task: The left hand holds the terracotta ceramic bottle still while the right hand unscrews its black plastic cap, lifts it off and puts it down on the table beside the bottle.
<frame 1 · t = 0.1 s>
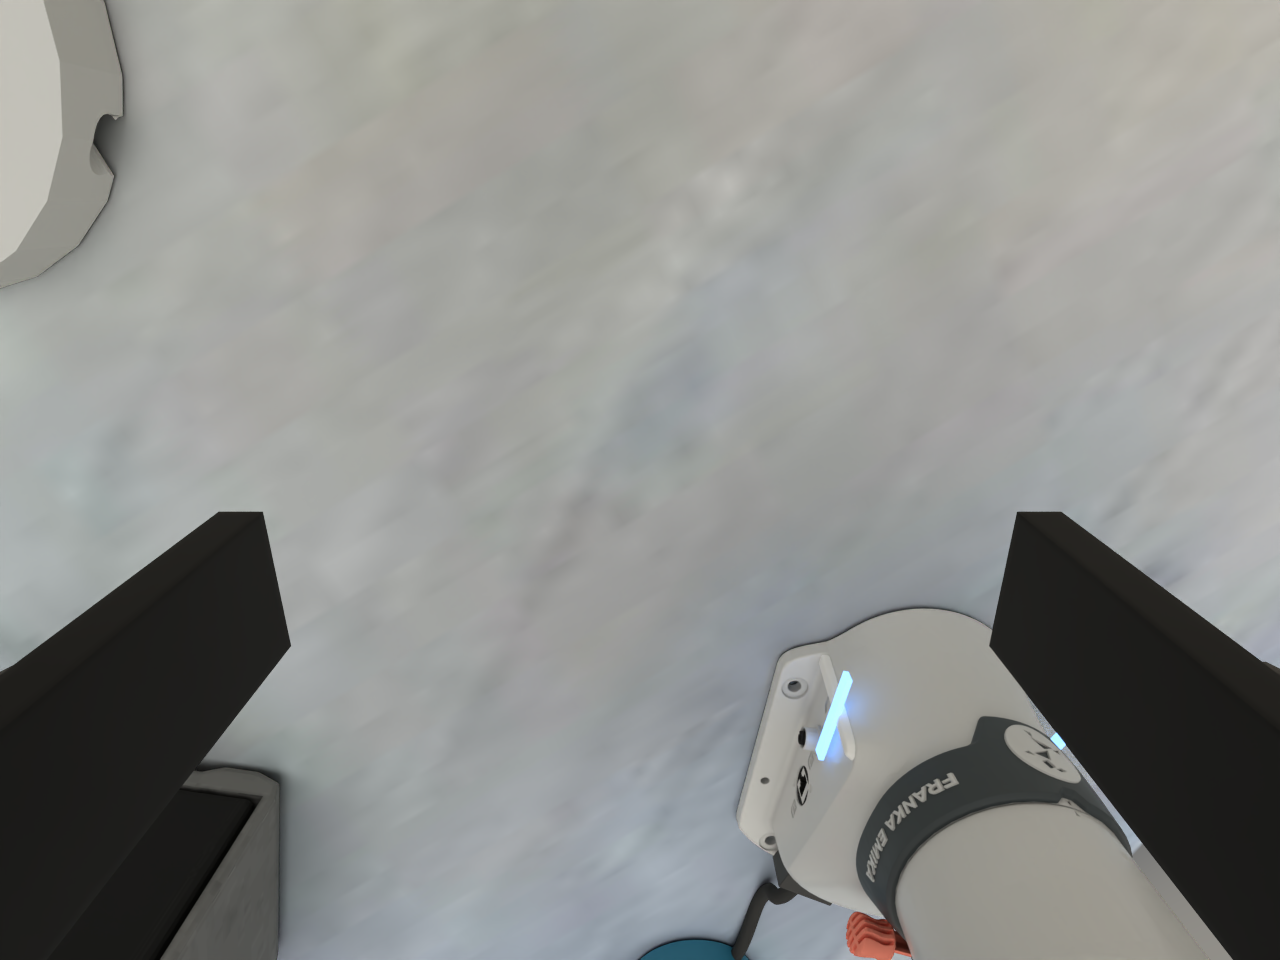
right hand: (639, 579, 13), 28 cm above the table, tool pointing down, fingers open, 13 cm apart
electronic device: (56, 846, 53), on the table
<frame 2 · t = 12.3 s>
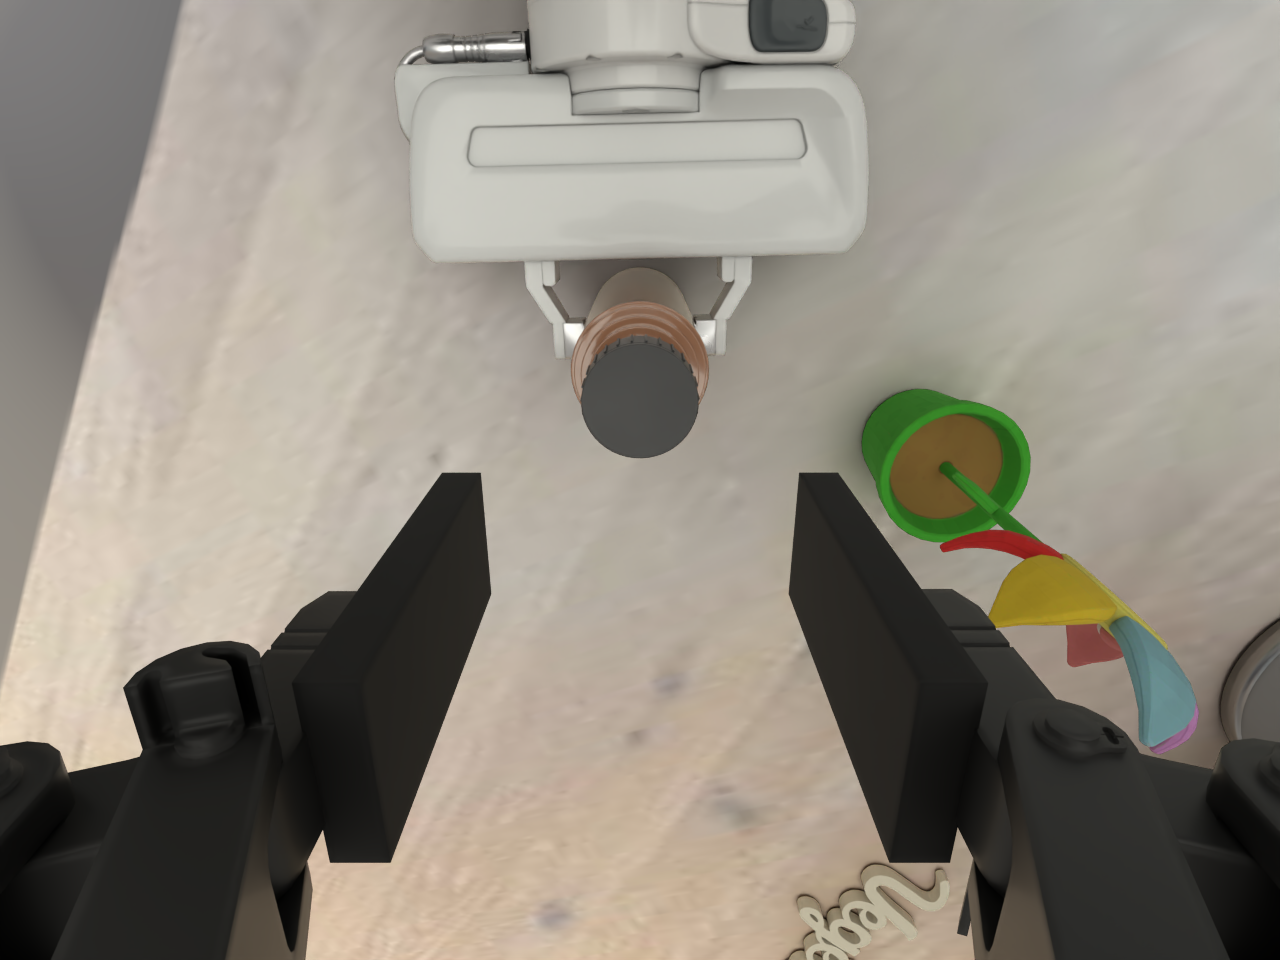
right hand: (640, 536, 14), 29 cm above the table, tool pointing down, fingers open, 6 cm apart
left hand: (641, 355, 35), fingers closed on bottle, 5 cm apart
decorative sign: (815, 955, 61), on the table
bottle: (639, 315, 41), on the table, touching left hand
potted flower: (913, 439, 44), on the table
cap: (639, 400, 24), point 19 cm above the table, screwed on, not yet turned
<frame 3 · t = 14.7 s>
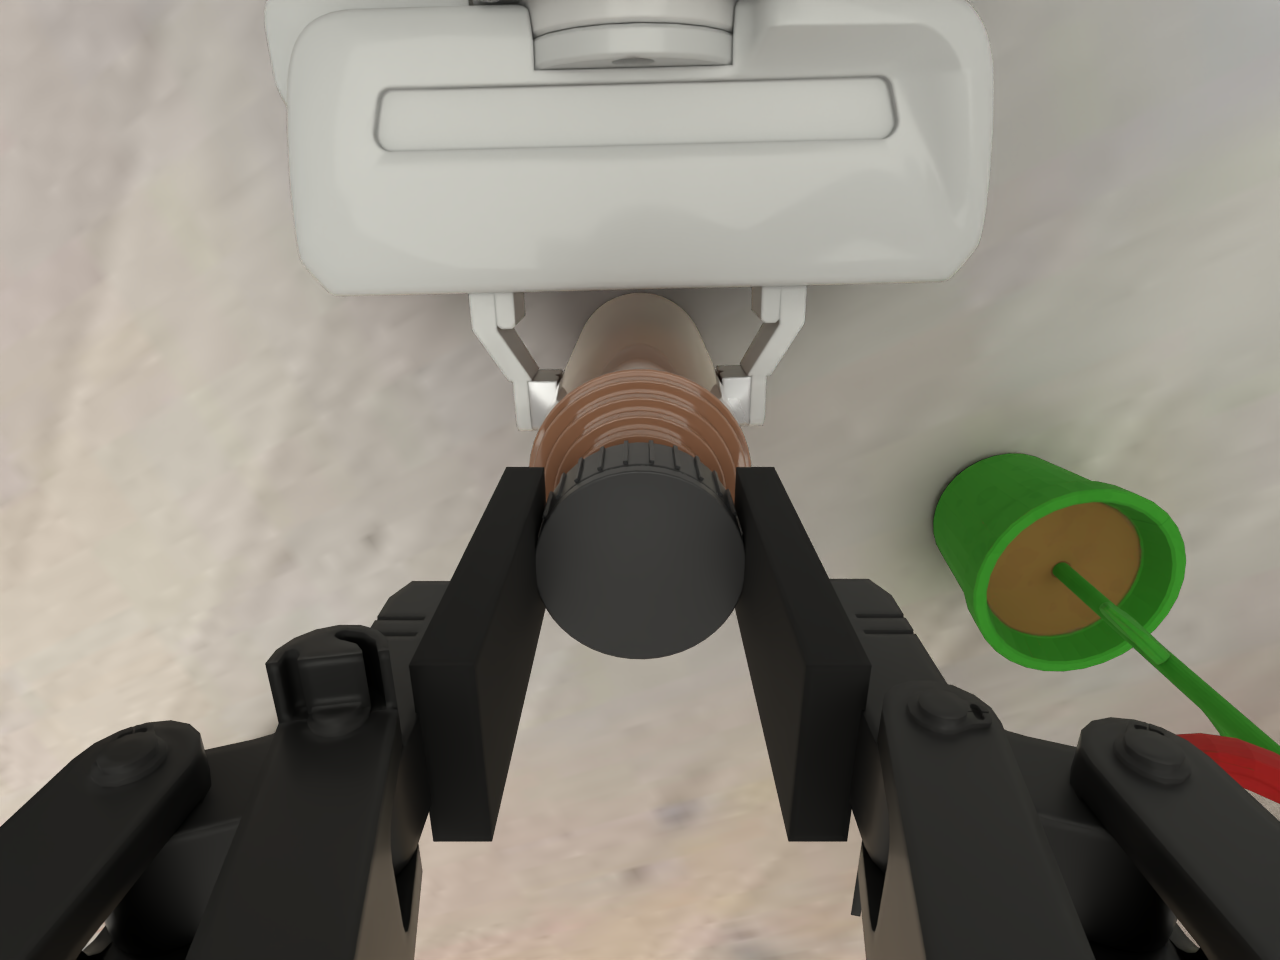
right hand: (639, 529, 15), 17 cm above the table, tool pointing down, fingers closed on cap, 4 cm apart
left hand: (641, 424, 25), fingers closed on bottle, 5 cm apart
bottle: (640, 357, 31), on the table, touching left hand
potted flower: (1000, 516, 33), on the table
cap: (640, 562, 13), point 19 cm above the table, screwed on, not yet turned, touching right hand
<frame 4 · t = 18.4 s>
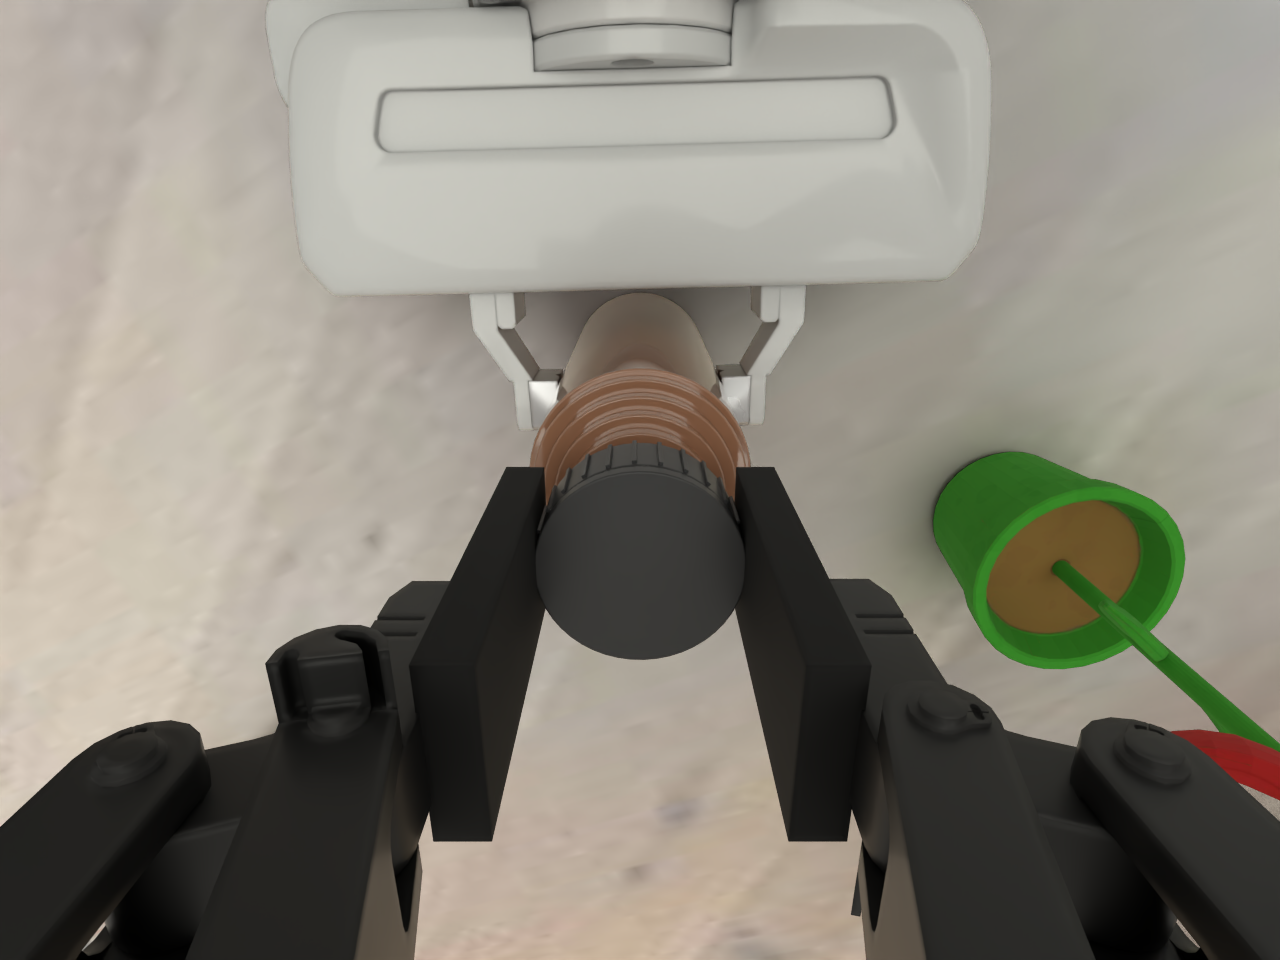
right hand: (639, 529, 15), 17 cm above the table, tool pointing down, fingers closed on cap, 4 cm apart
left hand: (642, 423, 25), fingers closed on bottle, 5 cm apart
bottle: (640, 356, 31), on the table, touching left hand
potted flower: (1000, 514, 34), on the table
cap: (640, 563, 13), point 19 cm above the table, turned 120° so far, risen 0.1 cm, still on its thread, touching right hand
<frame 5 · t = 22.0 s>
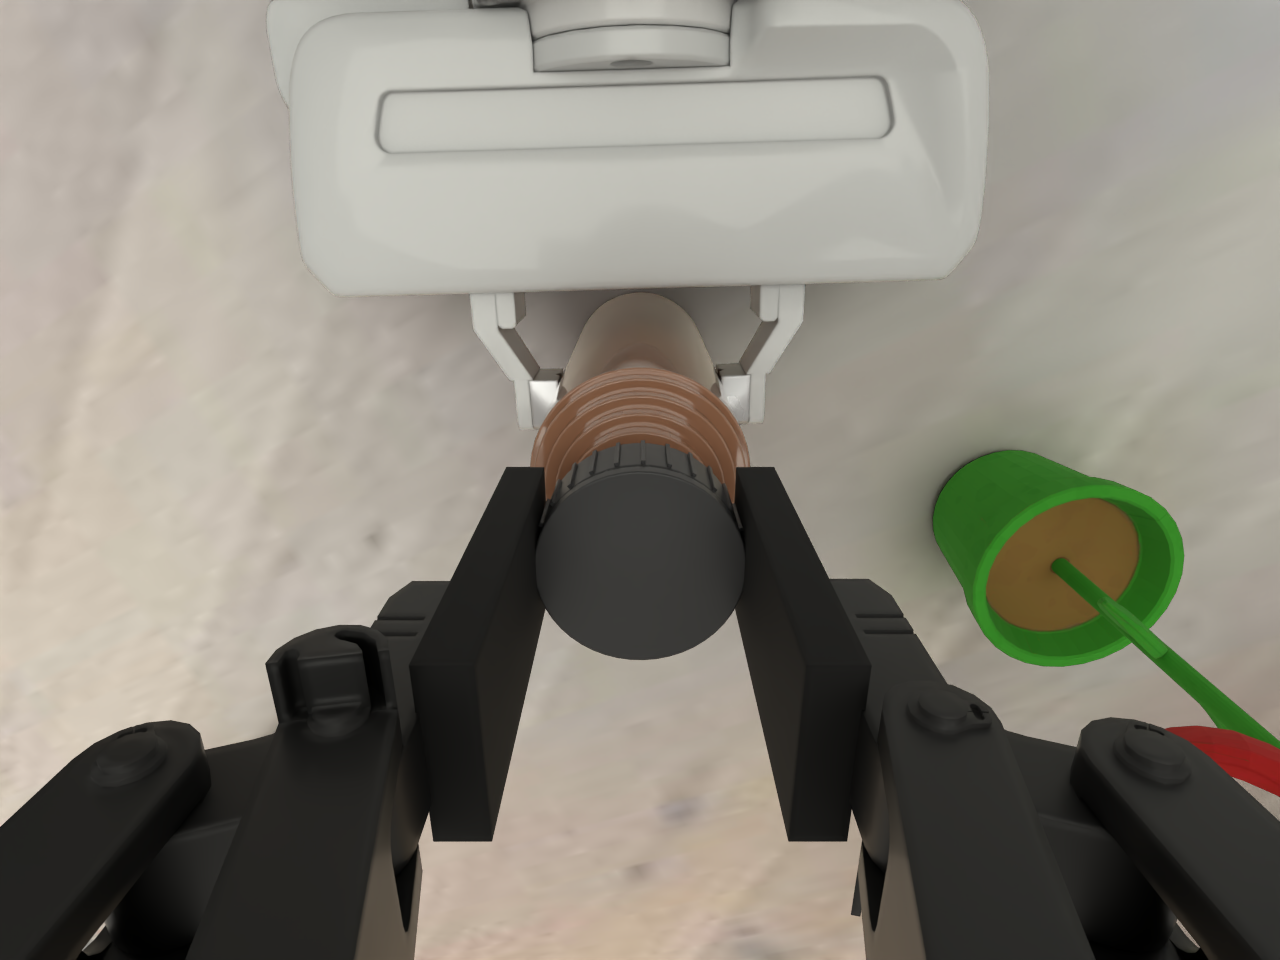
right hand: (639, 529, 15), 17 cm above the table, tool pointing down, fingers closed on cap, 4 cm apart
left hand: (642, 422, 25), fingers closed on bottle, 5 cm apart
bottle: (640, 356, 31), on the table, touching left hand
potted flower: (999, 512, 34), on the table
cap: (640, 563, 13), point 19 cm above the table, turned 240° so far, risen 0.2 cm, still on its thread, touching right hand
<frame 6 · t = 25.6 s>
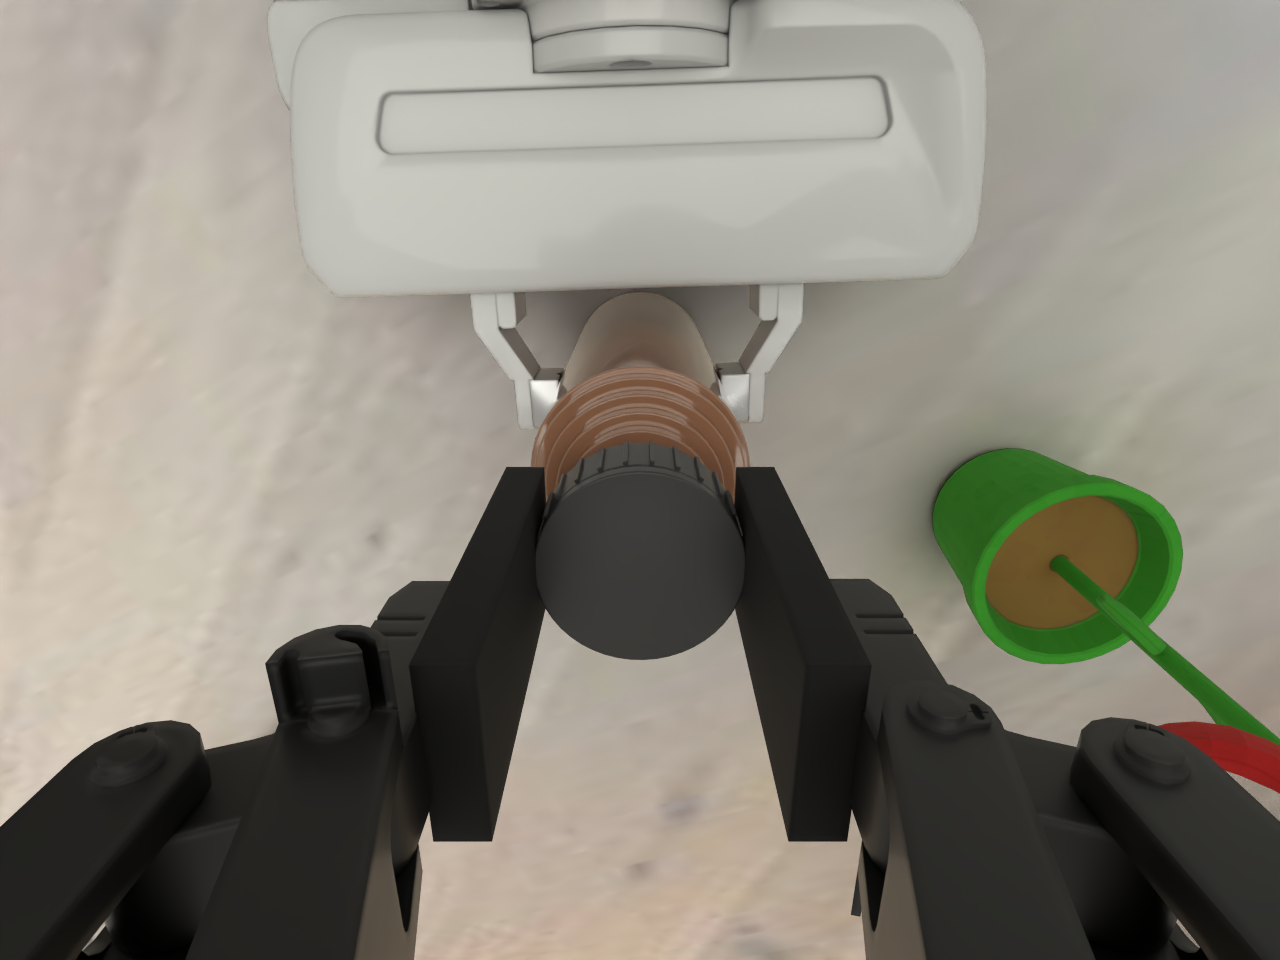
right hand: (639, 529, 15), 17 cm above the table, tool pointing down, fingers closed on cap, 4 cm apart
left hand: (642, 421, 25), fingers closed on bottle, 5 cm apart
bottle: (640, 355, 31), on the table, touching left hand
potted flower: (999, 511, 34), on the table
cap: (640, 563, 13), point 19 cm above the table, turned 359° so far, risen 0.3 cm, still on its thread, touching right hand
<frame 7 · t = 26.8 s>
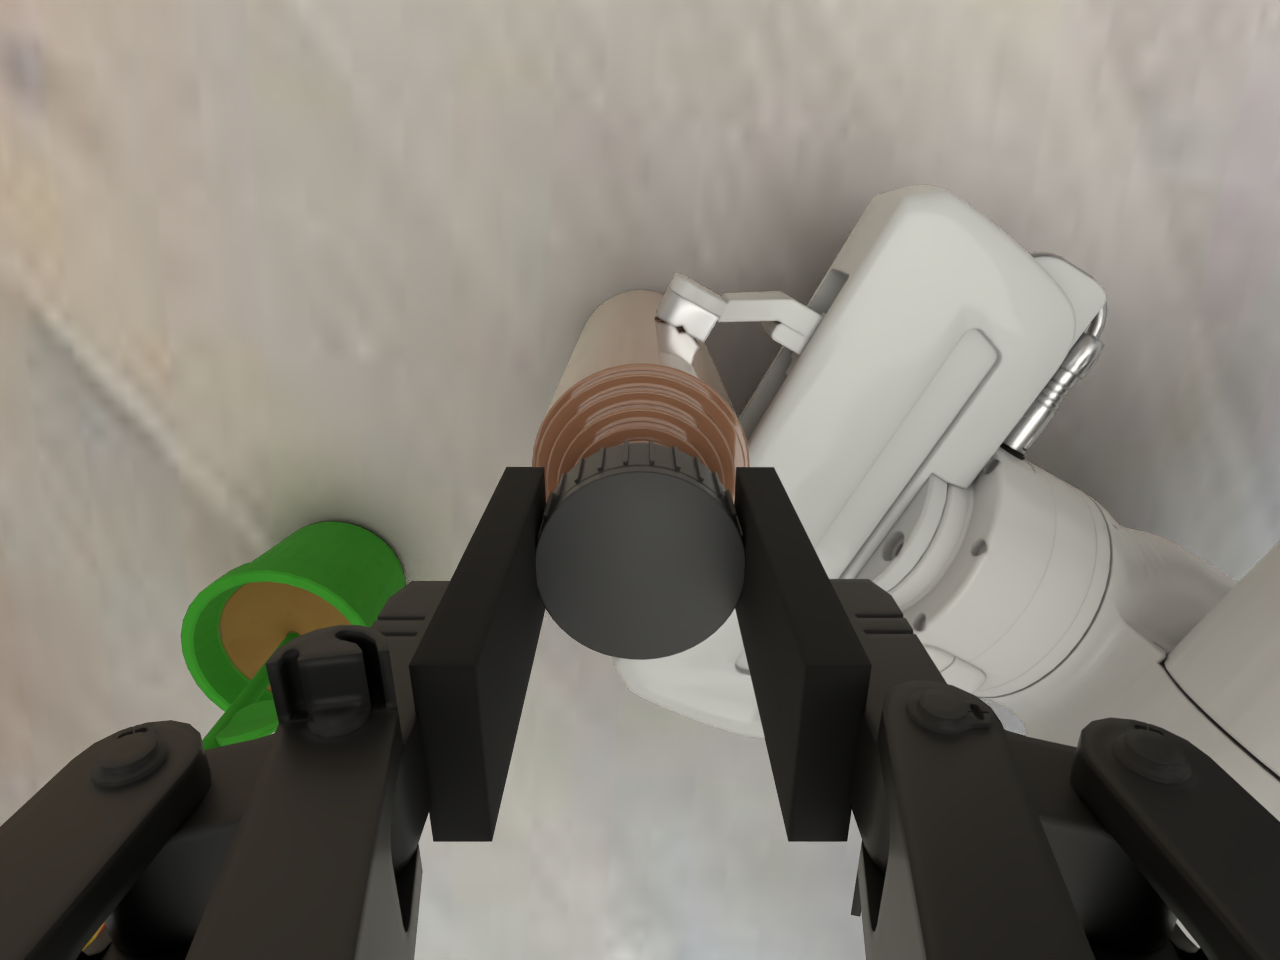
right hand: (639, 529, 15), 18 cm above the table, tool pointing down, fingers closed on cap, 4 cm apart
left hand: (617, 383, 25), fingers closed on bottle, 5 cm apart
bottle: (640, 354, 31), on the table, touching left hand
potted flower: (339, 576, 35), on the table
cap: (640, 563, 13), point 19 cm above the table, off its thread, touching right hand
when the right hand's fingers open (1 cm above the table, at t = 32.3 s): cap drops 1 cm, point 1 cm above the table.
when the left hand's fingers open (7 cm above the table, at t = 33.7 s): bottle stays where it is, on the table.
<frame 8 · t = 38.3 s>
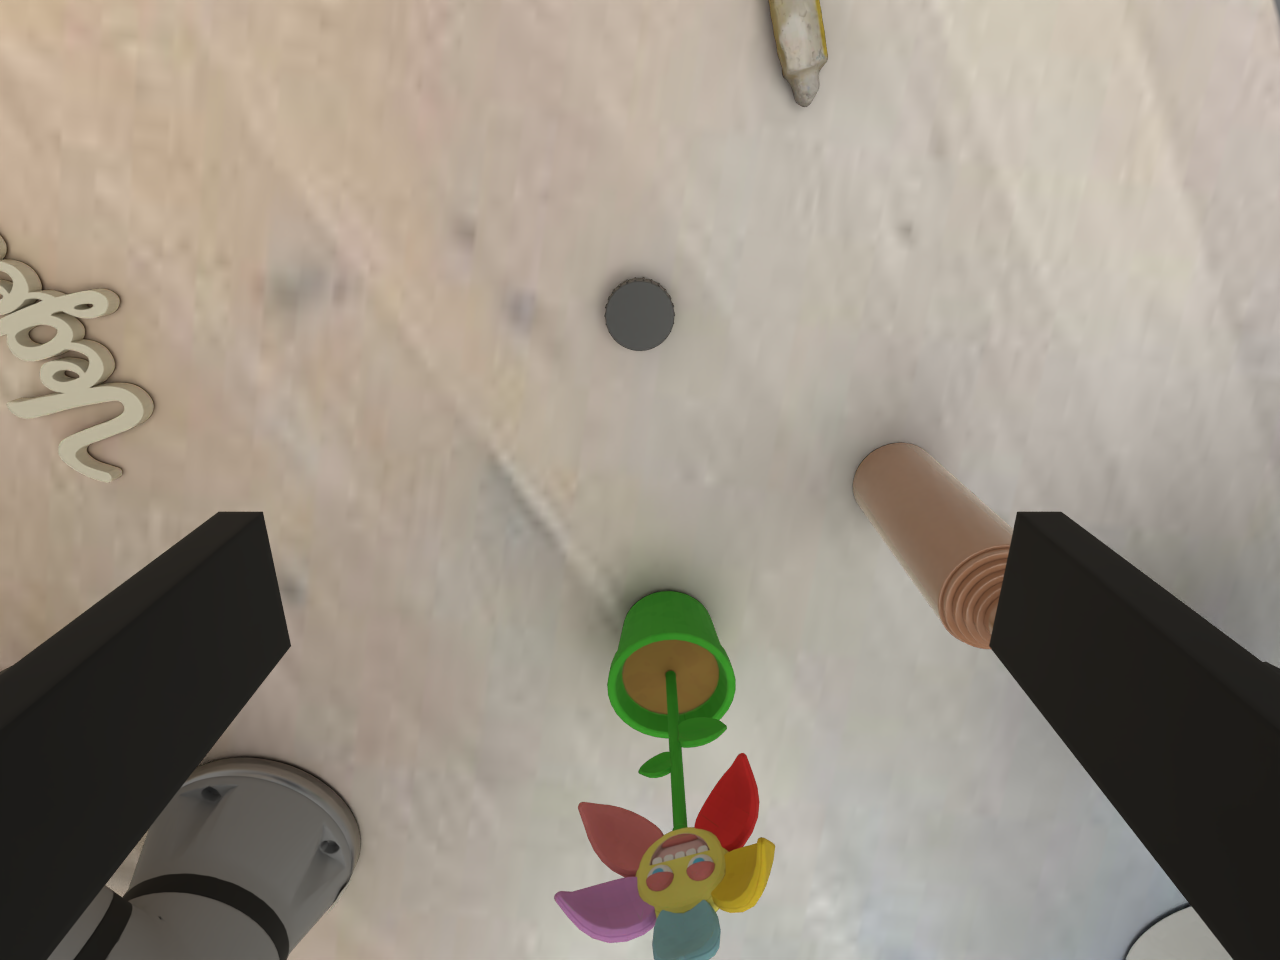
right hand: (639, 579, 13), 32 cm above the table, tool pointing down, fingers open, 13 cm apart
bottle: (894, 482, 46), on the table
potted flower: (663, 627, 50), on the table
cap: (639, 315, 41), point 1 cm above the table, off its thread
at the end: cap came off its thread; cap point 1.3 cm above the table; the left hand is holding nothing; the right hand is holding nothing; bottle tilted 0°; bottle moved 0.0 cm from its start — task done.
